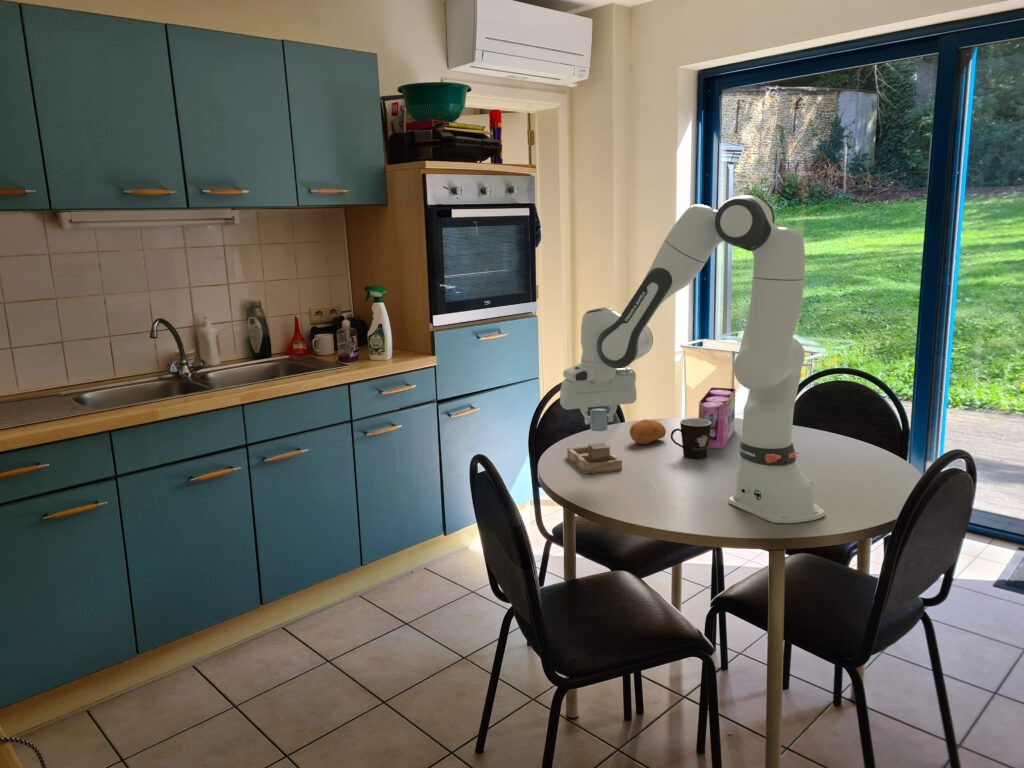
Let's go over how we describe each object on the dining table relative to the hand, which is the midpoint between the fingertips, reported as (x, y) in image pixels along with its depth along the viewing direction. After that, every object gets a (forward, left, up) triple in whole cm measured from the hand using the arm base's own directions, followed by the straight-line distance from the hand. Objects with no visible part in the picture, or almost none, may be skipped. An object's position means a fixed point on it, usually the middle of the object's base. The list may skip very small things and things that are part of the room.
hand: (598, 422), depth 201 cm
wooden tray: (+11, -3, -15) cm, 19 cm away
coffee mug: (+8, -31, -15) cm, 35 cm away
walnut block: (+7, -3, -14) cm, 16 cm away
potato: (+25, -26, -15) cm, 39 cm away
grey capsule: (0, 0, -2) cm, 2 cm away
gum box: (+22, -47, -15) cm, 54 cm away
